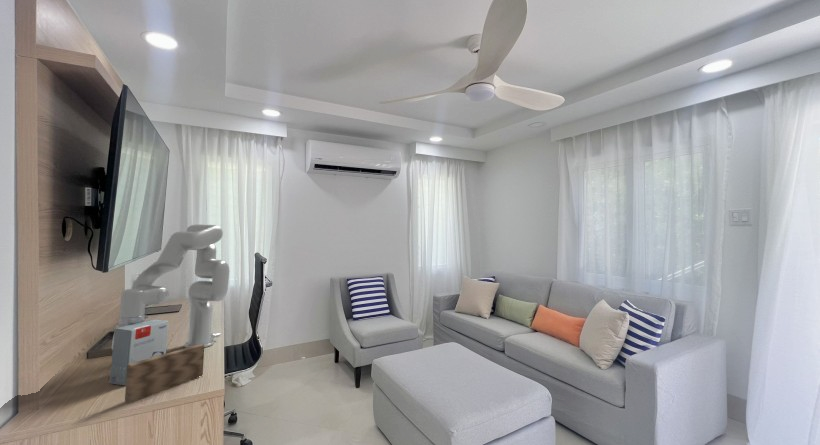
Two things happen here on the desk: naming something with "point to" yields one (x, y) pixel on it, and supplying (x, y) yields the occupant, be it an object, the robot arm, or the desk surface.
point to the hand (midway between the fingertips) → (128, 367)
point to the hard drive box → (137, 346)
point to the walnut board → (163, 372)
